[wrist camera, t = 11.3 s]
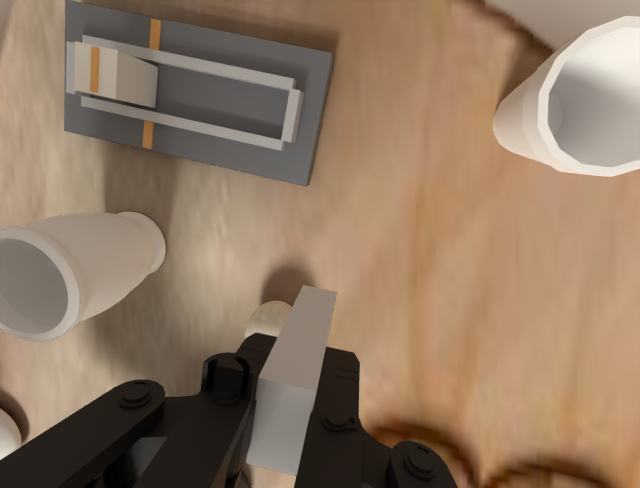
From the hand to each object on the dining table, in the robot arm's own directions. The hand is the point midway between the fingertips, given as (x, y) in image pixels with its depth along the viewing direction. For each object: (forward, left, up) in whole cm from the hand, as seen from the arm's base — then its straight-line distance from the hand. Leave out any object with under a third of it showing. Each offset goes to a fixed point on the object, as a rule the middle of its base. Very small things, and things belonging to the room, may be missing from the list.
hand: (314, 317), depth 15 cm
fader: (+9, +24, -23) cm, 35 cm away
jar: (-9, +25, -25) cm, 37 cm away
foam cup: (+14, -15, -25) cm, 32 cm away
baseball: (-14, +5, -25) cm, 29 cm away
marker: (+9, +23, -23) cm, 34 cm away
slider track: (+9, +19, -25) cm, 33 cm away
